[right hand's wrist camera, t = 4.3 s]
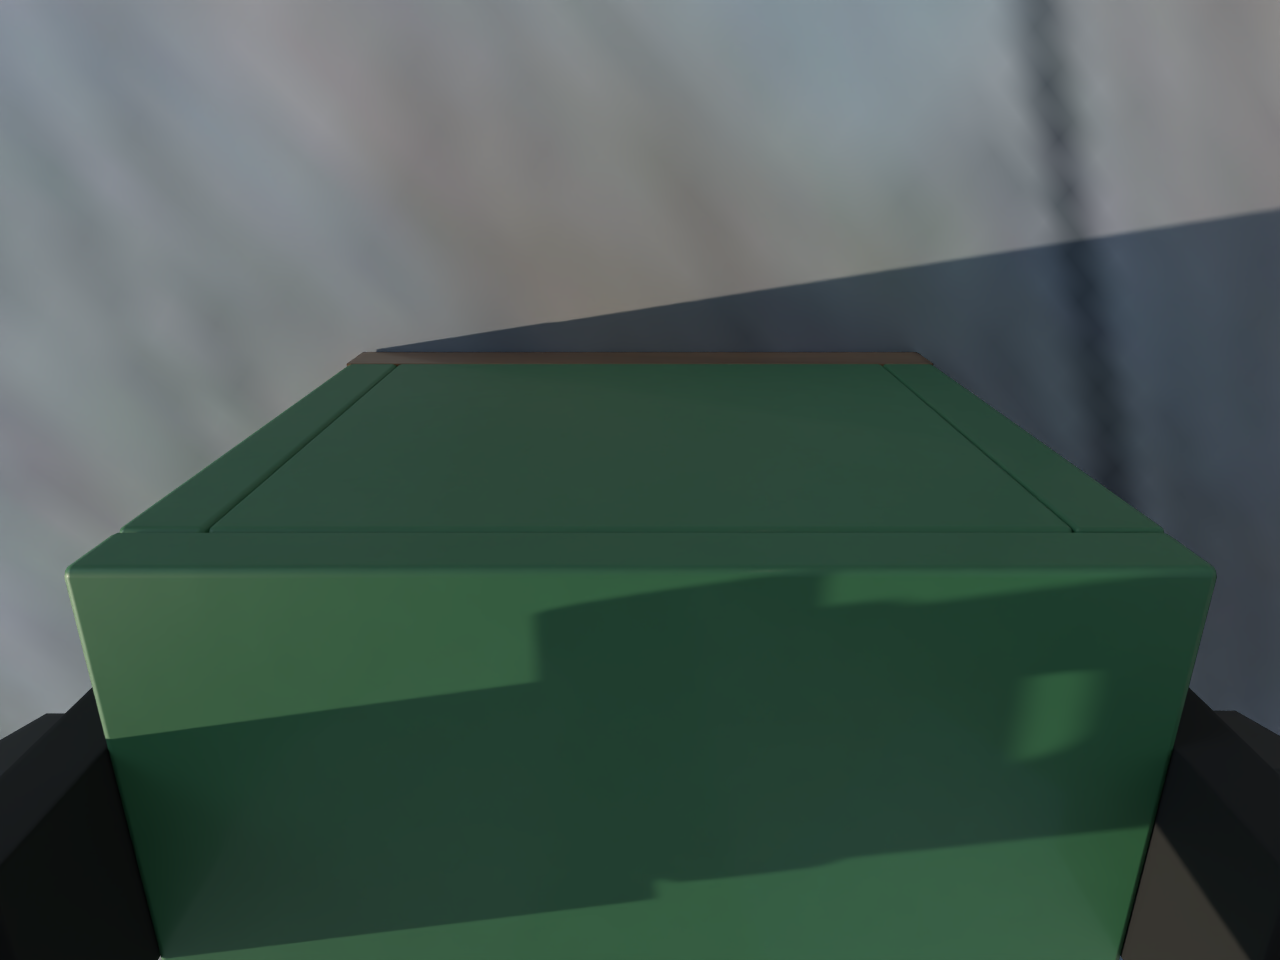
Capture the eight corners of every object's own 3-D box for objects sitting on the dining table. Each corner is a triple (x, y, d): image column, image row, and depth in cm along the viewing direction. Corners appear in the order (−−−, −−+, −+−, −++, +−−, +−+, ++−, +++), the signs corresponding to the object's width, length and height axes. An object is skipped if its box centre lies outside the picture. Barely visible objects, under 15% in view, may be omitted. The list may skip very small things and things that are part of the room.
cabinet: (842, 1024, 22) (968, 1564, 14) (437, 1024, 22) (311, 1565, 14) (917, 352, 16) (1225, 567, 8) (362, 351, 16) (55, 567, 8)
